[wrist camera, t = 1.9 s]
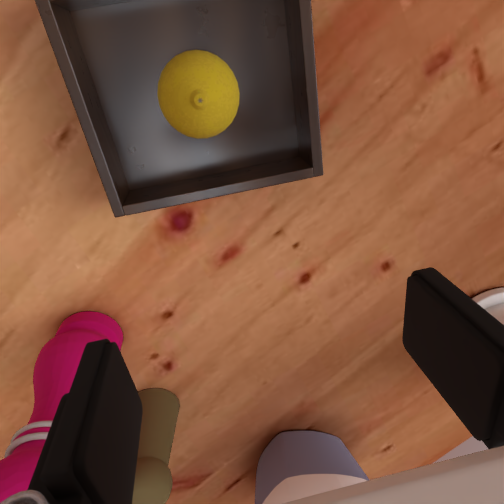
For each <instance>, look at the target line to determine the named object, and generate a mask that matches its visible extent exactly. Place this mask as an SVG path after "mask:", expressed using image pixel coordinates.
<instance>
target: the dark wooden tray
mask: <svg viewBox="0 0 504 504" xmlns="http://www.w3.org/2000/svg"><path fill="white" fill-rule="evenodd" d="M35 2H36V5H37V8H38V10H39V13H40V16H41V19H42V21H43V24H44V27H45V29H46V32H47V35H48V37H49V40H50V43H51V46H52V48H53V51H54V54H55V56H56V59H57V62H58V65H59V67H60V70H61V73H62V75H63V78H64V81H65V84H66V86H67V89H68V92H69V94H70V97H71V100H72V102H73V105H74V108H75V111H76V113H77V116H78V119H79V121H80V124H81V127H82V130H83V132H84V135H85V138H86V140H87V143H88V146H89V148H90V151H91V154H92V157H93V159H94V162H95V165H96V167H97V170H98V173H99V176H100V178H101V181H102V184H103V186H104V189H105V192H106V195H107V197H108V200H109V203H110V205H111V208H112V211H113V213H114V216H115V217H121V216H125V215H131V214H136V213H141V212H146V211H151V210H155V209H160V208H165V207H170V206H175V205H180V204H185V203H190V202H194V201H199V200H204V199H209V198H214V197H219V196H224V195H229V194H233V193H238V192H243V191H248V190H253V189H258V188H263V187H268V186H273V185H277V184H282V183H287V182H292V181H297V180H302V179H307V178H312V177H316V176H321V175H323V164H322V150H321V136H320V122H319V108H318V94H317V79H316V65H315V51H314V37H313V23H312V9H311V0H35ZM190 50H202V51H208V52H210V53H212V54H214V55H217V56H218V57H219V58H221V59H222V60H223V61H224V62H226V63H227V65H228V66H229V67H230V69H231V70H232V71H233V73H234V75H235V78H236V80H237V82H238V87H239V92H240V95H239V106H238V110H237V114H236V116H235V118H234V119H233V121H232V123H231V124H230V125H229V126H228V127H227V128H226V129H225V130H224V131H223V132H221V133H219V134H218V135H216V136H213V137H209V138H199V139H197V138H193V137H188V136H186V135H184V134H182V133H180V132H178V131H177V130H176V129H175V128H173V127H172V126H171V125H170V124H169V122H168V121H167V120H166V118H165V117H164V115H163V113H162V110H161V108H160V106H159V101H158V95H157V92H158V82H159V79H160V75H161V72H162V71H163V69H164V68H165V66H166V64H167V63H168V62H169V61H170V60H171V59H173V58H174V57H175V56H176V55H178V54H181V53H183V52H185V51H190Z"/></svg>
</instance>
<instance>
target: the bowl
mask: <svg viewBox="0 0 504 504" xmlns="http://www.w3.org/2000/svg"><path fill="white" fill-rule="evenodd" d="M365 481H369V479H368V477H367V476H366V474H365V473H364V472H363V470H362V469H361V467H360V466H359V465H358V463H357V462H356V460H355V459H354V458H353V456H352V455H351V453H350V452H349V451H348V449H347V448H346V446H345V445H344V444H343V442H342V441H341V439H340V438H338V437H336V436H333V435H330V434H326V433H322V432H316V431H287V432H282V433H280V434H278V435H277V436H276V437H275V438H273V440H272V441H271V442H270V443H269V445H268V446H267V447H266V448H265V450H264V451H263V453H262V455H261V457H260V459H259V462H258V467H257V472H256V489H255V504H282V503H286V502H290V501H294V500H297V499H301V498H305V497H309V496H312V495H316V494H320V493H324V492H327V491H331V490H335V489H338V488H342V487H346V486H350V485H354V484H357V483H361V482H365Z"/></svg>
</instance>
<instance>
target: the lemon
mask: <svg viewBox="0 0 504 504" xmlns="http://www.w3.org/2000/svg"><path fill="white" fill-rule="evenodd" d="M157 95H158V101H159V106H160V108H161V110H162V113H163V115H164V117H165V118H166V120H167V121H168V122H169V124H170V125H171V126H172V127H173V128H175V129H176V130H177V131H178V132H180V133H182V134H184V135H186V136H188V137H193V138H197V139H199V138H209V137H213V136H216V135H218V134H219V133H221V132H223V131H224V130H225V129H226V128H227V127H228V126H229V125H230V124H231V123H232V121H233V119H234V118H235V116H236V114H237V110H238V106H239V95H240V92H239V87H238V82H237V80H236V78H235V75H234V73H233V71H232V70H231V69H230V67H229V66H228V65H227V63H226V62H224V61H223V60H222V59H221V58H219V57H218V56H217V55H214V54H212V53H210V52H208V51H202V50H190V51H185V52H183V53H181V54H178V55H176V56H175V57H174V58H173V59H171V60H170V61H169V62H168V63H167V64H166V66H165V68H164V69H163V71H162V72H161V75H160V79H159V82H158V92H157Z"/></svg>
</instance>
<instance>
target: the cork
mask: <svg viewBox="0 0 504 504" xmlns="http://www.w3.org/2000/svg"><path fill="white" fill-rule="evenodd" d="M138 394H139V397H140V399H141V402H142V407H143V414H142V423H141V431H140V440H139V448H138V457H137V465H136V474H135V482H134V491H133V499H132V504H165V503H166V501H167V500H168V498H169V496H170V492H171V489H172V476H171V471H170V469H169V467H168V463H169V458H170V453H171V448H172V443H173V438H174V433H175V428H176V422H177V417H178V412H179V407H180V404H179V400H178V398H177V397H176V395H174V394H173V393H171V392H170V391H168V390H165V389H160V388H151V389H145V390H142V391H140V392H138Z"/></svg>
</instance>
